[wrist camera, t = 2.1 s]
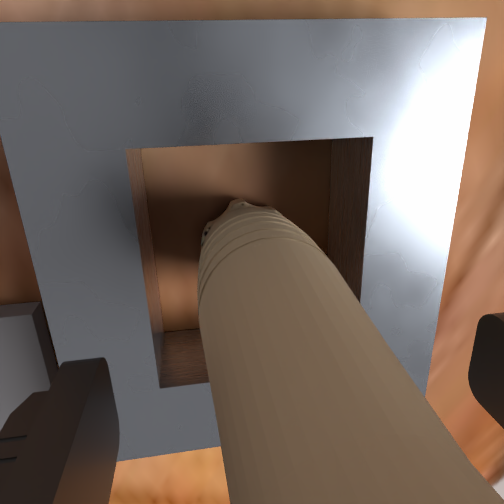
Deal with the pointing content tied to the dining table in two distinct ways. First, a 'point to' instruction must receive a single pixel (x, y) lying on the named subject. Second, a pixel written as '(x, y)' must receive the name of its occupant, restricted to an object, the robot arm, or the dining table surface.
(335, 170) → the holder
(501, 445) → the dining table surface
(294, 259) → the handle
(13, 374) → the mat
